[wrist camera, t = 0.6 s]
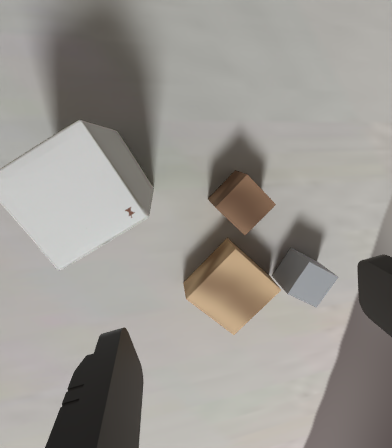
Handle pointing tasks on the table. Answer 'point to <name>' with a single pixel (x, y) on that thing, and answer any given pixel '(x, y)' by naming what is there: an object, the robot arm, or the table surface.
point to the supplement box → (76, 191)
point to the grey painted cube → (304, 277)
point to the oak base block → (230, 287)
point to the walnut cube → (241, 201)
